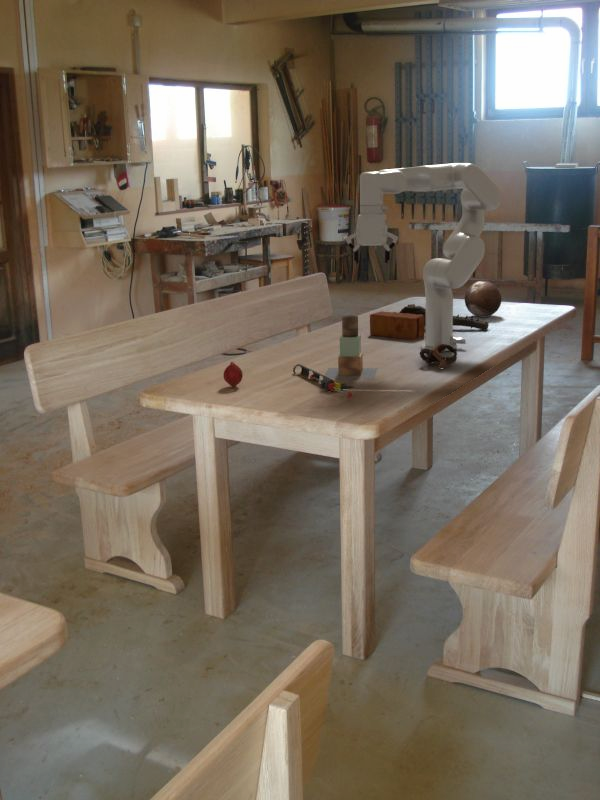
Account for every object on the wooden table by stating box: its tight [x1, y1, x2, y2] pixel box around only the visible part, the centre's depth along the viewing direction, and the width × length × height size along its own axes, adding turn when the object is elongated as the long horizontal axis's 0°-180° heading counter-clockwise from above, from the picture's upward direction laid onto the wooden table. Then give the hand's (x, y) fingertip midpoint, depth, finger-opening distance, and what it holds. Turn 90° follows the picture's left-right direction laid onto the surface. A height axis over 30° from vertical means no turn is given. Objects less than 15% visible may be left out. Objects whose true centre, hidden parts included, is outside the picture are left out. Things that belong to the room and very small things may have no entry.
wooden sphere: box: [464, 280, 503, 318], centre depth 388 cm, size 15×15×15 cm
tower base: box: [337, 351, 364, 376], centre depth 298 cm, size 7×7×6 cm
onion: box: [223, 361, 244, 388], centre depth 286 cm, size 6×6×8 cm
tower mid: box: [339, 333, 362, 357], centre depth 297 cm, size 6×6×6 cm
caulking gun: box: [292, 363, 354, 399], centre depth 285 cm, size 4×37×10 cm
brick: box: [369, 310, 425, 341], centre depth 356 cm, size 20×8×8 cm, turn 53°
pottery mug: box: [419, 344, 458, 369], centre depth 306 cm, size 12×10×8 cm
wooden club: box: [398, 303, 489, 331], centre depth 366 cm, size 39×5×10 cm, turn 76°
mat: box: [323, 367, 379, 380], centre depth 299 cm, size 16×14×1 cm
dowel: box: [341, 315, 359, 337], centre depth 295 cm, size 5×5×6 cm
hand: (372, 262), depth 313 cm, fingers open, 9 cm apart
